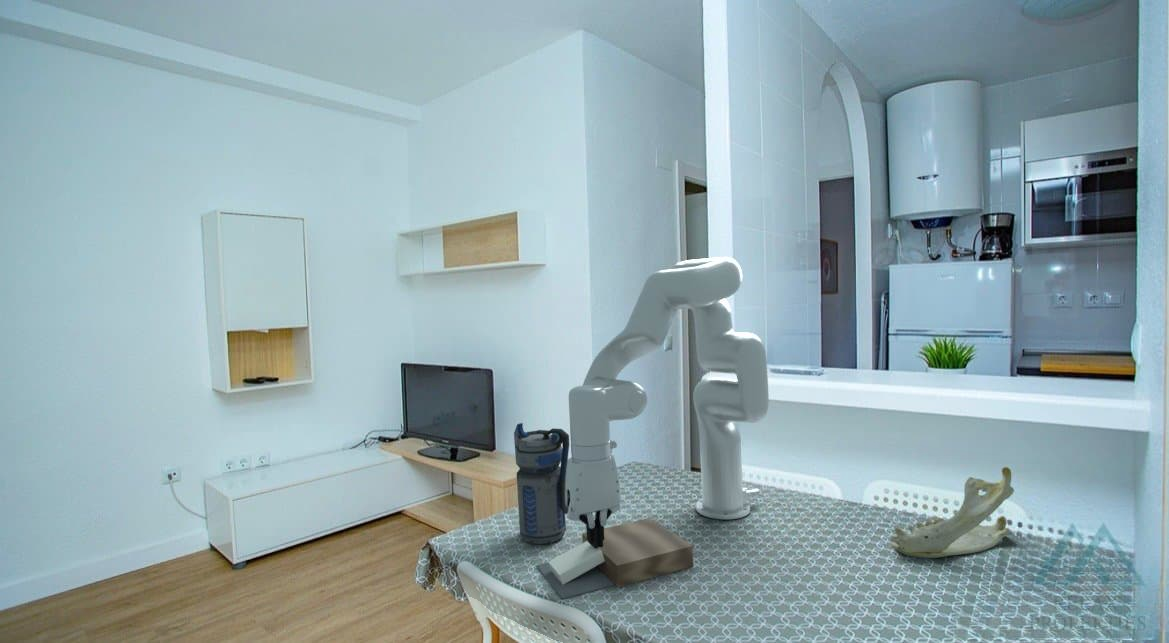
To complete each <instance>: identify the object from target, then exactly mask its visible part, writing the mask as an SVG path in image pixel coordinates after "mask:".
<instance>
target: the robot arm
mask: <svg viewBox="0 0 1169 643" xmlns="http://www.w3.org/2000/svg"><path fill="white" fill-rule="evenodd" d="M742 281H743V272H742V269H741V266H740V264H739V263H738V262H737V260H735V259H734V258H731V257H728V256H724V257H721V256H720V257H710V258H699V259H698V258H697V259H688V260H684V261H680V262H677V263H675V264H674V265H673V266H672V267H671V268H670V269H663V270H662V269H661V270H658V271H655V272H653V273H651V274H650V275H649V276H648V277H647V279H646V281H645V282H644V284H643V287H642V289H641V291H640V294H639V296H638V297H637V301H636V303H635V305H634V307H633V309H632V312H631V314H630V316H629V317H628V318H629V319H628V321H627V323H626V326H625V328H624V329H623V330H622V331H620V332H619V333H618V334H617V335H616V336H615V337H613V338H612V339H611V341H610V342H608V343H607V344H606V345H605V346H604V347H603V348H602V349H601V351H599V352H598V353H597V355H596V356H595V357H594V359H593V361H592V363H591V364H590V367H589V369H588V371H587V373H586V375H585V378H584V380H583V384H582V385H579V386H575V387H573V388H571V389H570V390H569V391H568V412H569V414H568V415H569V432H570V433H569V434H570V435H569V436H570V448H571V450H570V451H571V452H570V453H571V457H568V460H567V466H566V475H565V505H566V507H567V508H568V513H567V516H566V517H567V519H568V520H570V521H572V522H573V521H575V522H579V521H581V522H582V523H583V524H585V527H586V530H585V531H586V533H587V541H588V543H590V544H591V545H592V546H593V547H594V548H595V549H596V548H598V547H603V540H604V528H605V526H606V524H607V521H608V519H609V517H610V516H611V515H612V514H615V513H617V512H618V511H620V510H621V504H620V503H621V486H620V478H619V472H618V468H617V464H616V463H617V462H616V459H615V456H614V455H613V454H612V451H613V449H616V448H617V445H618V444H617V441H616V440H611V433H610V432H611V430H610V422H612V421H627V420H633V419H636V418H638V417H639V416H640V415H642V414H643V412H644V411H645V409H646V407H647V404H648V396H647V393H646V391H645V389H644V387H642V386H641V385H640V384H639V383H636V382H634V381H630V380H624V379H617V378H618V376H619V374H620V373H621V372H622V371H623V369H625V368H626V367H627V366H628V365H629V364H631V363H632V362H635V361H636V360H638V359H641V358H642V357H645V356H647V355H648V354H651V353H653V352H655V351H656V350H657V351H658V349H660V348H661V347H662V346H663V344H664V343H665V340H666V338H667V336H668V333H669V330H670V328H671V326H672V323H673V320H674V318H675V316H676V314H677V312H678V310H691V311H692V313H693V314H692V315H693V318H694V328H695V343H696V344H695V345H696V356H697V362H698V364H699V367H700V368H702V369H703V370H704V371H706V372H711V373H718V374H729V375H736V378H729V377H728V378H726V377H707V378H703V379H701V380H700V381H699V382H697V384H696V386H695V388H694V390H693V395H692V399H693V405H694V409H695V414H696V418H697V424H698V436H699V452H700V453H699V455H700V456H699V457H700V477H701V478H700V479H701V498H700V499H699V500H698V501H696V503H695V510H696V511H697V513H699V515H702V516H704V517H707V518H710V519H716V520H736V519H740V518H741V519H742V518H744V517H746V516H748V515H749V514H750V512H751V504H750V503H748V501H749V500H750V499H751V498H752V499H753V498H756V497H757V498H758V497H760V494H761V493H760V490H759V489H758V488H753V489H748V488H747V487H744V485H743V484H744V482H743V466H742V464H743V463H742V462H743V461H742V460H743V459H742V458H743V456H742V437H741V433H740V430H739V428H738V425H737V423H736V422H739V423H746V424H757V423H759V422H761V421H763V420H764V419H765V418H766V415H767V413H768V408H769V379H768V378H769V376H768V362H767V361H768V359H767V353H766V348H765V346H764V343H763V342H762V339H760V337H759V336H757V335H756V334H754V333H750V332H740V331H738V332H735V330H734V326H733V319H732V311H731V307H730V304H729V302H728V301H727V300H726V299H727V298H729V297H731V296H733V295H734V294H736V293H737V291H738V290H739V288H741V287H740V286H741V284H742Z"/></svg>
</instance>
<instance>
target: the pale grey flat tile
mask: <svg viewBox="0 0 1169 643" xmlns="http://www.w3.org/2000/svg"><path fill="white" fill-rule="evenodd" d="M604 561H605V559H604V556H603V553H602V551H601V550H600V549H599V548H596V549H595V548H594V547H593V546H592V545H591V544H590V543H588V541H586V542H584V543H583V542H582V543H581V544H579V545H577V546H575V547H573V548H571V549H569V550H567V551H565V552H564V553H562V554H560V555H558V556H556V557H555V558H552V559H551V560H549V561H548V562H549V565H550V568H551V571H552V572H553V573H554V575H555V576H556V577H557V578H558V580H559V581H560V582H561V583H562V584H565V583H567V582H569V581H570V580H572V579H574V578H576V577H578V576H579V575H581V574H583V573H585V572H586V571H588V570H590V569H592V568H594V567H595V566H596V567H597V565H599V564H601V563H602V562H604Z"/></svg>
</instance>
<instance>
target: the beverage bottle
mask: <svg viewBox="0 0 1169 643" xmlns="http://www.w3.org/2000/svg"><path fill="white" fill-rule="evenodd" d="M523 424H524V423H523V422H520V423H517V424H516V426H515V430H514V433H513V438H514V439H513V440H514V455H515V457H514V458H515V464H516V466H517V467H518V468H519V470H518V471H516V474H515V475H516V487H517V488H516V489H517V506H518V508H517V509H518V521H519V522H518V523H519V525H518V526H519V535H520V536H521V538H522V540H524V541H525V542H526V543H530V544H534V545H545V544H546V543H547V544H551V543H554V542H557V541H559V540H560V539H562V538H563V537H564V535H565V532H566V530H567V526H566V522H567V521H566V515H567V514H568V508H567V507H566V505H565V475H566V466H567V460H568V459H569V450H570V435H569V434H568V433H567V432H566V431H565V430H564V429H562V428H554V427H553V428H551V429H550V430H545V429H537V430H532V431H525V430H524V426H523ZM547 544H546V545H547Z"/></svg>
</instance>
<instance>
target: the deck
mask: <svg viewBox="0 0 1169 643" xmlns="http://www.w3.org/2000/svg"><path fill="white" fill-rule="evenodd" d="M581 534H582V535H581V538H582V543H584V542H586V541H587V532H583V533H581ZM598 548H599V549H600V550H601V551H602V553H603V556H604V559H605V561H604V562H602V563H601V564H599V565H597V566H596V567H597V568H598V569H599V570H600V571H601V572H602V573H603V574H604V575H605V576H606V577H607V578H608V579H609V580H610V581H612V582H613V583H614V585H615V586H616V587H617V588H621V587H625V586H628V585H632V584H635V583H638V582H642V581H646V580H651V579H654V578H657V577H661V576H665V575H667V574H671V573H675V572H678V570H679V571H682V570H685V569H688V568H692V567H694V559H693V557H694V556H693V554H694V553H693V545H692V544H690V543H689V542H688V541H685V540H684V539H683V538H681V537H680V536H678V535H677V534H675V533H674V532H672V531H670V530H669V529H668V528H666V527H664V526H663V525H662V524H660V523H659V522H657V521H655V520H654V519H653V518H651V517H648V518H644V519H638V520H636V521H630V522H627V523H622V524H618V525H613V526H609V527H604V540H603V547H598ZM674 571H675V572H674Z"/></svg>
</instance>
